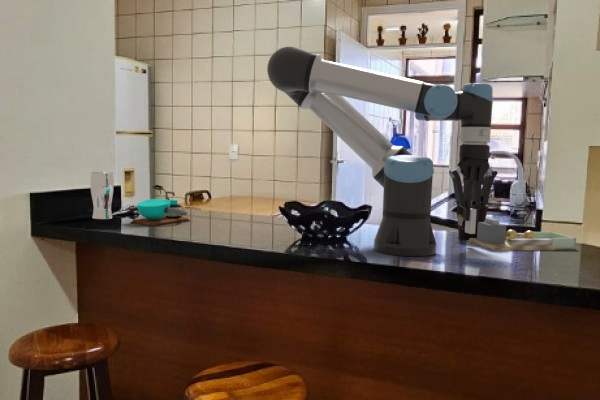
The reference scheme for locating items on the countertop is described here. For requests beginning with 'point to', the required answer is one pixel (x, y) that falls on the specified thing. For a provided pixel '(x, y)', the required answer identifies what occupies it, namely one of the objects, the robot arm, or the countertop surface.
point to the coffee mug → (461, 222)
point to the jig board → (518, 244)
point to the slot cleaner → (491, 232)
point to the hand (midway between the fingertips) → (469, 232)
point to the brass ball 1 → (511, 234)
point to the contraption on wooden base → (160, 211)
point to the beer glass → (102, 194)
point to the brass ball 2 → (529, 235)
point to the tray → (558, 240)
